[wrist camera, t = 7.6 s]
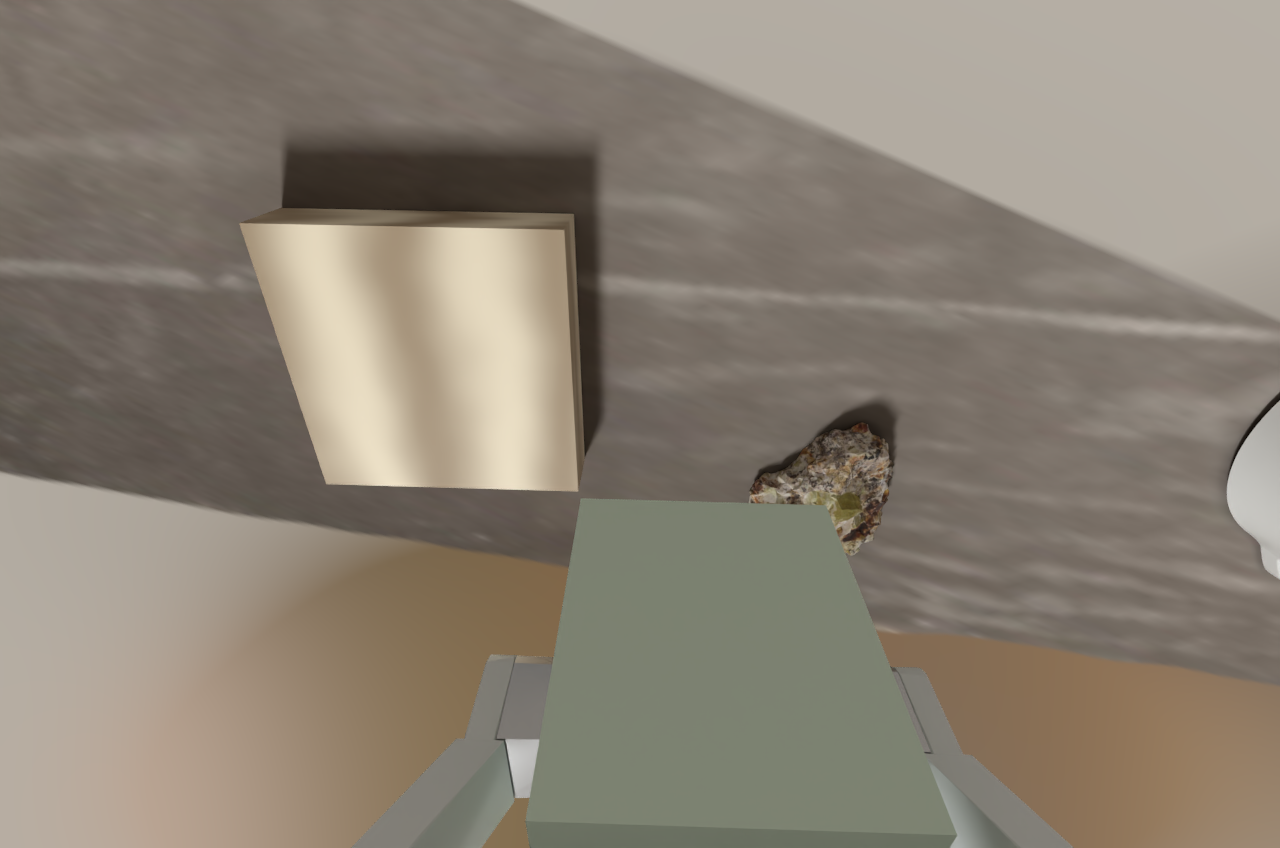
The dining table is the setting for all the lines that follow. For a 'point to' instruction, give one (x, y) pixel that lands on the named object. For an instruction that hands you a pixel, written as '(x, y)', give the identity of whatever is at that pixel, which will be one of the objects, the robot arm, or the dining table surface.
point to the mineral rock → (836, 482)
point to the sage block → (723, 691)
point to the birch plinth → (429, 343)
